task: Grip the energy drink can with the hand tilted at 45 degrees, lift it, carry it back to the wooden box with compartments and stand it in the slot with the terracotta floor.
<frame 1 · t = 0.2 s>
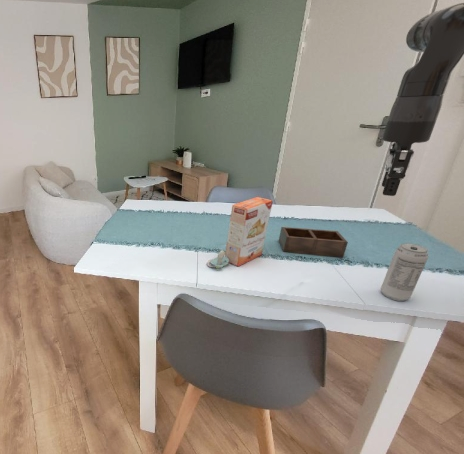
hand: (387, 190, 69), 30 cm above the table, tool pointing down, fingers open, 8 cm apart
pacifier: (216, 265, 99), on the table
cracker box: (243, 258, 103), on the table
wooden box with compartments: (308, 248, 107), on the table
energy drink can: (393, 296, 80), on the table
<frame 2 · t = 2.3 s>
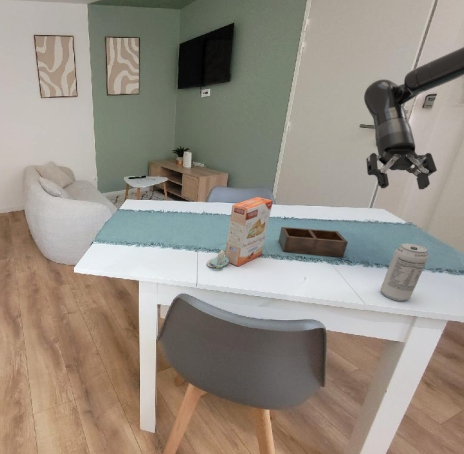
hand: (404, 187, 79), 28 cm above the table, tool tilted 45°, fingers open, 8 cm apart
nothing on the table moved.
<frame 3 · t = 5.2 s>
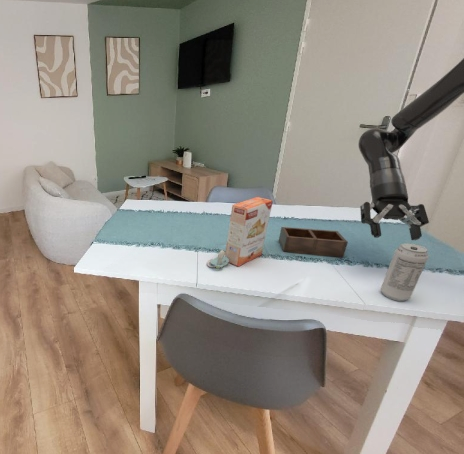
hand: (396, 238, 81), 14 cm above the table, tool tilted 45°, fingers open, 8 cm apart
nothing on the table moved.
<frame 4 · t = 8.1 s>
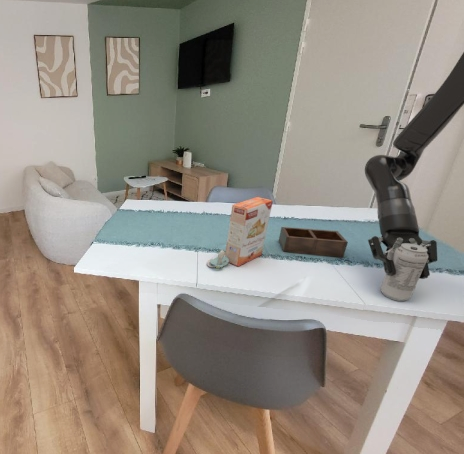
hand: (407, 276, 76), 7 cm above the table, tool tilted 45°, fingers closed on energy drink can, 6 cm apart
energy drink can: (393, 296, 80), on the table, touching gripper
everything else where it was.
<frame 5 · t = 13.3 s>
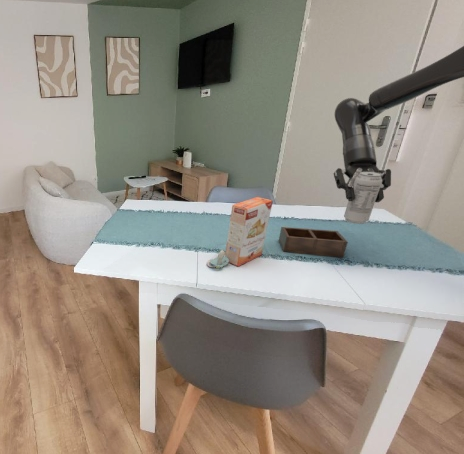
hand: (365, 200, 86), 22 cm above the table, tool tilted 45°, fingers closed on energy drink can, 6 cm apart
energy drink can: (354, 221, 91), point 15 cm above the table, touching gripper
everything else where it was.
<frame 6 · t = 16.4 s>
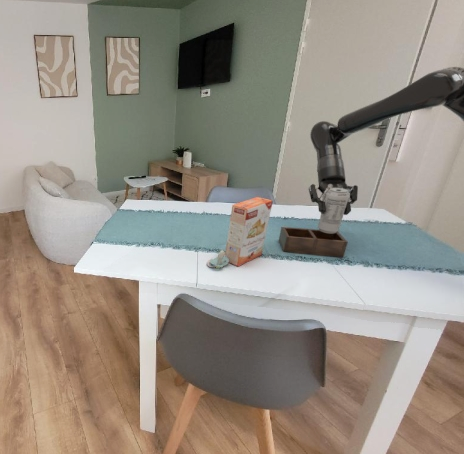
hand: (334, 213, 98), 15 cm above the table, tool tilted 45°, fingers closed on energy drink can, 6 cm apart
energy drink can: (327, 231, 102), point 7 cm above the table, touching gripper
everything else where it was.
when the fingers open (8 cm above the table, at t = 18.8 s): energy drink can stays where it is, resting on wooden box with compartments.
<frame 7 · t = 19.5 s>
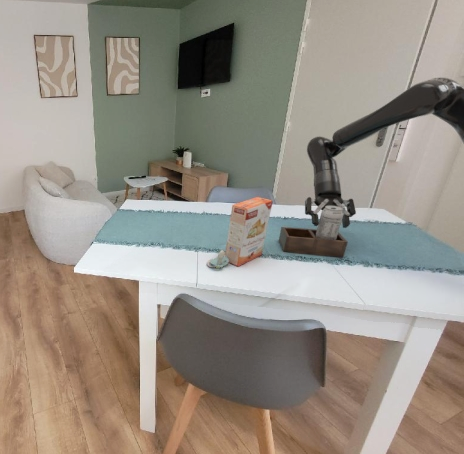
hand: (331, 226, 100), 10 cm above the table, tool tilted 45°, fingers open, 8 cm apart
energy drink can: (322, 247, 105), point 1 cm above the table, touching wooden box with compartments
everything else where it was.
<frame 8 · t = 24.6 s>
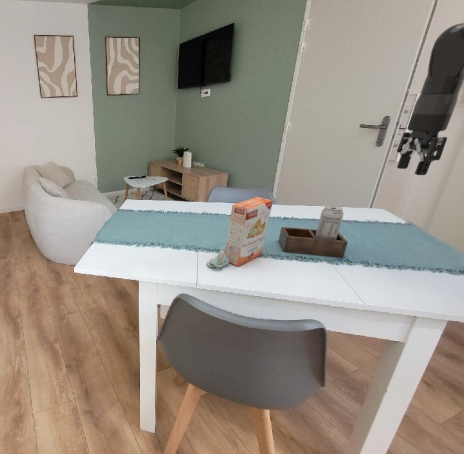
hand: (410, 171, 85), 30 cm above the table, tool pointing down, fingers open, 8 cm apart
nothing on the table moved.
at the end: energy drink can 0.2 cm from the target spot in the wooden box with compartments, point 1.0 cm above the wooden box with compartments's base; energy drink can tilted 0°; the gripper is holding nothing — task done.
